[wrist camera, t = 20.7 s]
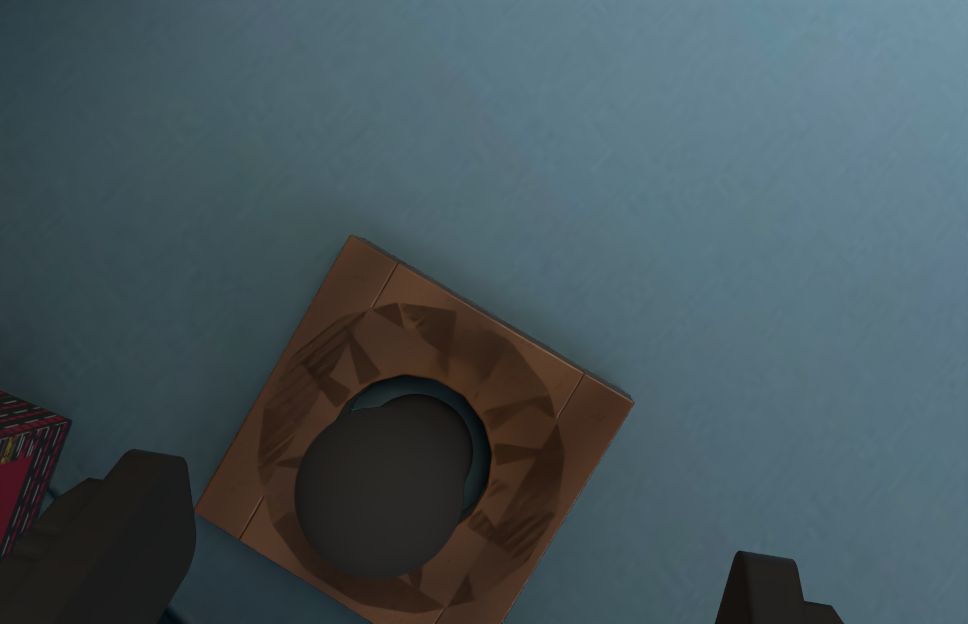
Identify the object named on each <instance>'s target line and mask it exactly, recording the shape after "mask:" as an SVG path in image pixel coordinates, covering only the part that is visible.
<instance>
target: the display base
mask: <svg viewBox="0 0 968 624" xmlns="http://www.w3.org/2000/svg"><path fill="white" fill-rule="evenodd" d="M401 375H408V376H415V377H421V378H428V379H435V380H437V381H439V382H440V383H442V384H444V385H445V386H447V387H449V388H450V389H452V390H454V391H455V392H457V393H459V394H460V395H462V396H464V398H465V399H466V400H467V402H468V403H469V404H470V406H471V407H472V408H473V410H474V411H475V412H476V414H477V415H478V416H479V418H480V419H481V420H482V422H483V423H484V427H485V431H486V434H487V438H488V442H489V446H490V450H491V454H492V455H491V462H490V470H489V477H488V482H487V484H486V485H485V487H484V489H483V490H482V492H481V494H480V496H479V497H478V499H477V501H476V502H475V503H474V504H472V505H471V506H470V507H468V508H467V509H466V510H464V511H463V512H462V513H461V515H460V518H459V521H458V524H457V526H456V528H455V530H454V532H453V534H452V536H451V537H450V539H449V540H448V542H447V543H446V545H445V546H444V547H443V548H442V549H441V551H440V552H439V553H438V554H437V555H436V556H435V557H433V558H432V559H431V560H430V561H429V562H427V563H426V564H424V565H423V566H421V567H419V568H418V569H416V570H413V571H411V572H409V573H407V574H404V575H401V576H397V577H392V578H386V579H371V578H362V577H358V576H353V575H350V574H348V573H345V572H343V571H341V570H339V569H337V568H335V567H333V566H332V565H330V564H329V563H328V562H326V561H325V560H324V559H323V558H322V557H321V556H319V555H318V554H317V553H316V551H315V550H314V549H313V548H312V547H311V545H310V544H309V542H308V541H307V539H306V538H305V536H304V534H303V532H302V529H301V527H300V524H299V521H298V518H297V514H296V509H295V499H294V490H295V481H296V476H297V472H298V469H299V466H300V463H301V460H302V458H303V456H304V454H305V452H306V450H307V449H308V447H309V446H310V444H311V443H312V441H313V440H314V439H315V438H316V437H317V436H318V434H319V433H320V432H321V431H323V430H324V429H325V428H326V427H327V426H328V425H329V424H331V423H332V422H334V421H335V420H337V419H338V418H340V417H342V416H344V415H347V414H349V412H350V410H351V409H352V407H353V405H354V403H355V402H356V400H357V398H358V396H359V395H361V394H362V393H363V392H365V391H366V390H367V389H369V388H370V387H371V386H373V385H374V384H375V383H377V382H378V381H382V380H386V379H390V378H394V377H398V376H401ZM633 405H634V401H633V400H632V398H631V396H630V395H628V394H627V393H625V392H623V391H622V390H620V389H618V388H617V387H615V386H613V385H611V384H610V383H608V382H606V381H605V380H603V379H601V378H600V377H598V376H596V375H594V374H593V373H591V372H589V371H588V370H586V369H583V368H582V367H581V366H579V365H577V364H576V363H574V362H572V361H571V360H569V359H567V358H566V357H564V356H562V355H561V354H559V353H557V352H555V351H554V350H552V349H550V348H549V347H547V346H545V345H544V344H542V343H540V342H539V341H537V340H535V339H533V338H532V337H530V336H528V335H527V334H525V333H523V332H522V331H520V330H518V329H516V328H515V327H513V326H511V325H510V324H508V323H506V322H505V321H503V320H501V319H500V318H498V317H496V316H494V315H493V314H491V313H489V312H488V311H486V310H484V309H483V308H481V307H479V306H478V305H476V304H474V303H472V302H471V301H469V300H467V299H466V298H464V297H462V296H461V295H459V294H457V293H456V292H454V291H452V290H450V289H449V288H447V287H445V286H444V285H442V284H440V283H439V282H437V281H435V280H433V279H432V278H430V277H428V276H427V275H425V274H423V273H422V272H420V271H418V270H417V269H415V268H413V267H411V266H410V265H406V263H405V262H403V261H401V260H400V259H398V258H396V257H394V256H393V255H391V254H389V253H388V252H386V251H384V250H383V249H381V248H379V247H378V246H376V245H374V244H372V243H371V242H369V241H367V240H366V239H364V238H360V237H357V236H353V235H350V236H349V238H348V240H347V241H346V243H345V245H344V247H343V248H342V250H341V252H340V254H339V255H338V257H337V259H336V261H335V262H334V264H333V266H332V268H331V269H330V271H329V273H328V275H327V276H326V278H325V280H324V282H323V283H322V285H321V287H320V289H319V290H318V292H317V294H316V296H315V298H314V299H313V301H312V303H311V305H310V306H309V308H308V310H307V312H306V313H305V315H304V317H303V319H302V320H301V322H300V324H299V326H298V327H297V329H296V331H295V333H294V334H293V336H292V338H291V340H290V341H289V343H288V345H287V347H286V348H285V350H284V352H283V354H282V355H281V357H280V359H279V361H278V362H277V364H276V366H275V368H274V369H273V371H272V373H271V375H270V376H269V378H268V380H267V382H266V384H265V385H264V387H263V389H262V391H261V392H260V394H259V396H258V398H257V399H256V401H255V403H254V405H253V406H252V408H251V410H250V412H249V413H248V415H247V417H246V419H245V420H244V422H243V424H242V426H241V427H240V429H239V431H238V433H237V434H236V436H235V438H234V440H233V441H232V443H231V445H230V447H229V448H228V450H227V452H226V454H225V455H224V457H223V459H222V461H221V462H220V464H219V466H218V468H217V470H216V471H215V473H214V475H213V477H212V478H211V480H210V482H209V484H208V485H207V487H206V489H205V491H204V492H203V494H202V496H201V498H200V499H199V501H198V503H197V505H196V506H195V508H194V512H195V513H197V514H198V515H200V516H202V517H203V518H205V519H206V520H208V521H210V522H211V523H213V524H214V525H216V526H218V527H219V528H221V529H223V530H224V531H226V532H227V533H229V534H231V535H232V536H234V537H235V538H237V539H239V538H240V541H241V542H243V543H245V544H246V545H248V546H249V547H251V548H253V549H254V550H256V551H258V552H259V553H261V554H262V555H264V556H266V557H267V558H269V559H270V560H272V561H274V562H275V563H277V564H278V565H280V566H282V567H283V568H285V569H286V570H288V571H290V572H291V573H293V574H295V575H296V576H298V577H299V578H301V579H303V580H304V581H306V582H307V583H309V584H311V585H312V586H314V587H315V588H317V589H319V590H320V591H322V592H323V593H325V594H327V595H328V596H330V597H332V598H333V599H335V600H336V601H338V602H340V603H341V604H343V605H344V606H346V607H348V608H349V609H351V610H352V611H354V612H356V613H357V614H359V615H360V616H362V617H364V618H365V619H367V620H369V621H370V622H372V623H373V624H502V622H503V621H504V619H505V617H506V616H507V614H508V612H509V611H510V609H511V607H512V606H513V604H514V602H515V601H516V599H517V597H518V596H519V594H520V593H521V591H522V589H523V588H524V586H525V584H526V583H527V581H528V579H529V578H530V576H531V574H532V573H533V571H534V569H535V568H536V566H537V564H538V563H539V561H540V559H541V558H542V556H543V554H544V553H545V551H546V549H547V548H548V546H549V544H550V543H551V541H552V539H553V538H554V536H555V534H556V533H557V531H558V529H559V528H560V526H561V524H562V523H563V521H564V520H565V518H566V516H567V515H568V513H569V511H570V510H571V508H572V506H573V505H574V503H575V501H576V500H577V498H578V496H579V495H580V493H581V491H582V490H583V488H584V486H585V485H586V483H587V481H588V480H589V478H590V476H591V475H592V473H593V471H594V470H595V468H596V466H597V465H598V463H599V461H600V460H601V458H602V456H603V455H604V453H605V451H606V450H607V448H608V446H609V445H610V443H611V442H612V440H613V438H614V437H615V435H616V433H617V432H618V430H619V428H620V427H621V425H622V423H623V422H624V420H625V418H626V417H627V415H628V413H629V412H630V410H631V408H632V407H633Z"/></svg>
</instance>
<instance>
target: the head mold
mask: <svg viewBox="0 0 968 624" xmlns="http://www.w3.org/2000/svg"><path fill="white" fill-rule="evenodd" d="M472 457H473V446H472V440H471V436H470V433H469V430H468V428H467V426H466V424H465V422H464V421H463V419H462V417H461V416H460V415H459V414H458V413H457V412H456V411H455V410H454V409H453V408H452V407H451V406H449V405H448V404H447V403H445V402H443V401H441V400H439V399H437V398H434V397H432V396H427V395H420V394H410V395H404V396H400V397H397V398H394V399H392V400H390V401H388V402H387V403H385V404H384V405H382V406H381V407H372V408H366V409H361V410H358V411H355V412H352V413H349V414H347V415H344V416H342V417H340V418H338V419H337V420H335V421H334V422H332V423H331V424H329V425H328V426H327V427H326V428H325V429H324V430H323V431H321V432H320V433H319V434H318V436H317V437H316V438H315V439H314V440H313V441H312V443H311V444H310V446H309V447H308V449H307V450H306V452H305V454H304V456H303V458H302V460H301V463H300V466H299V469H298V472H297V476H296V481H295V490H294V499H295V509H296V514H297V518H298V521H299V524H300V527H301V529H302V532H303V534H304V536H305V538H306V539H307V541H308V542H309V544H310V545H311V547H312V548H313V549H314V550H315V551H316V553H317V554H318V555H319V556H321V557H322V558H323V559H324V560H325V561H326V562H328V563H329V564H330V565H332V566H333V567H335V568H337V569H339V570H341V571H343V572H345V573H348V574H350V575H353V576H358V577H362V578H371V579H386V578H392V577H397V576H401V575H404V574H407V573H409V572H411V571H413V570H416V569H418V568H419V567H421V566H423V565H424V564H426V563H427V562H429V561H430V560H431V559H432V558H433V557H435V556H436V555H437V554H438V553H439V552H440V551H441V549H442V548H443V547H444V546H445V545H446V543H447V542H448V540H449V539H450V537H451V536H452V534H453V532H454V530H455V528H456V526H457V524H458V521H459V518H460V515H461V510H462V505H463V496H464V485H463V483H464V481H465V479H466V477H467V475H468V473H469V470H470V467H471V463H472Z"/></svg>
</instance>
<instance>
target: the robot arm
mask: <svg viewBox="0 0 968 624" xmlns="http://www.w3.org/2000/svg"><path fill="white" fill-rule="evenodd" d="M195 545H196V527H195V519H194V511H193V504H192V496H191V488H190V481H189V473H188V467H187V463H186V461H185V459H184V458H182V457H180V456H173V455H167V454H161V453H155V452H149V451H143V450H137V449H132V450H129V451H128V452H126V453H125V454H124V455H123V456H122V457H121V459H120V460H119V461H118V462H117V464H116V465H115V466H114V467H113V468H112V470H111V471H110V472H109V473H108V475H107V476H106V477H105V478H104V479H103V480H99V479H93V478H88V479H86V480H85V481H83V482H82V483H80V484H78V485H77V486H75V487H74V488H72V489H71V490H69V491H67V492H66V493H64V494H63V495H61V496H60V497H58V498H57V499H55V500H54V501H53V502H52V504H51V505H50V506H49V507H48V508H47V509H46V511H45V512H44V513H43V514H42V515H41V516H40V518H39V519H38V520H37V521H36V522H35V523H34V525H33V526H32V530H31V532H27V533H26V534H25V535H24V536H23V537H22V538H21V540H20V541H19V542H18V543H17V544H16V545H15V547H14V548H13V552H12V554H11V555H9V554H8V555H7V556H6V557H5V558H4V559H3V561H2V562H1V563H0V624H157V622H158V620H159V619H160V617H161V615H162V614H163V612H164V610H165V609H166V607H167V606H168V604H169V602H170V601H171V599H172V597H173V596H174V594H175V592H176V591H177V589H178V587H179V586H180V584H181V582H182V581H183V579H184V577H185V576H186V574H187V572H188V570H189V567H190V565H191V562H192V559H193V555H194V551H195ZM715 624H844V623H843V622H842V620H841V619H840V617H839V616H838V614H837V613H836V611H835V610H834V609H833V607H832V606H831V605H825V604H819V603H814V602H808V601H804V598H803V593H802V588H801V583H800V578H799V573H798V568H797V565H796V563H795V561H794V560H793V559H788V558H782V557H776V556H770V555H764V554H757V553H751V552H745V551H738V552H737V553H736V555H735V557H734V560H733V563H732V566H731V570H730V573H729V577H728V580H727V584H726V587H725V590H724V594H723V597H722V601H721V604H720V608H719V611H718V614H717V618H716V621H715Z"/></svg>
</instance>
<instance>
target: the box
mask: <svg viewBox="0 0 968 624" xmlns="http://www.w3.org/2000/svg"><path fill="white" fill-rule="evenodd" d="M71 423H72V421H71V420H69V419H66V418H64V417H62V416H59V415H57V414H55V413H52V412H50V411H47V410H45V409H43V408H40V407H38V406H35V405H33V404H31V403H28V402H26V401H24V400H21V399H19V398H16V397H14V396H12V395H9V394H7V393H4V392H2V391H0V563H1V562H2V561H3V559H4V558H5V557H6V556H7V555H8V554H9V555H11V554H12V552H13V548H14V547H15V545H16V544H17V543H18V542H19V541H20V540H21V538H22V537H23V536H24V535H25V534H26V533H27V532H31V530H32V526H33V525H34V523H35V521H36V519H37V516H38V513H39V511H40V508H41V505H42V502H43V500H44V497H45V494H46V491H47V489H48V486H49V483H50V481H51V478H52V475H53V472H54V470H55V467H56V464H57V461H58V459H59V456H60V453H61V450H62V448H63V445H64V442H65V440H66V437H67V434H68V431H69V429H70V426H71Z"/></svg>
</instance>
